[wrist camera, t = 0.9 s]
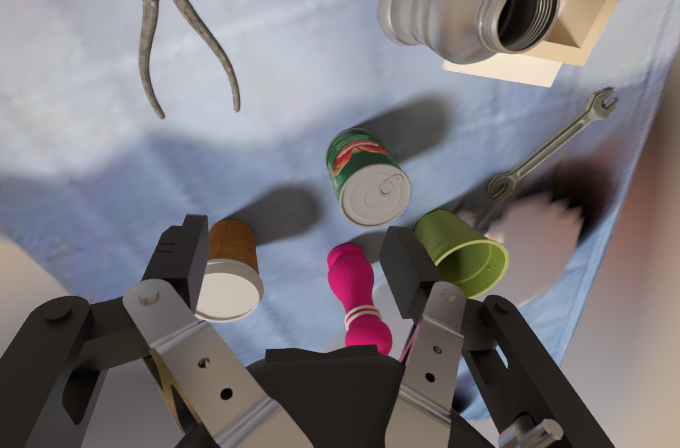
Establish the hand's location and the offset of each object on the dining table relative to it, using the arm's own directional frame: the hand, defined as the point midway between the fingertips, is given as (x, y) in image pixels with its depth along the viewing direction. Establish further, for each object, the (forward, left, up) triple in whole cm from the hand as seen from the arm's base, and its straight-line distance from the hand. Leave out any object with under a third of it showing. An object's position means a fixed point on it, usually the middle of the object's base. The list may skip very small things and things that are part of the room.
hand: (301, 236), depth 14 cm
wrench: (+3, +39, -28) cm, 48 cm away
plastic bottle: (-10, +12, -27) cm, 31 cm away
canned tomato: (+7, +10, -27) cm, 30 cm away
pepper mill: (+25, +12, -27) cm, 39 cm away
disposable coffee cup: (+21, -6, -27) cm, 35 cm away
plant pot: (+18, +26, -27) cm, 42 cm away
